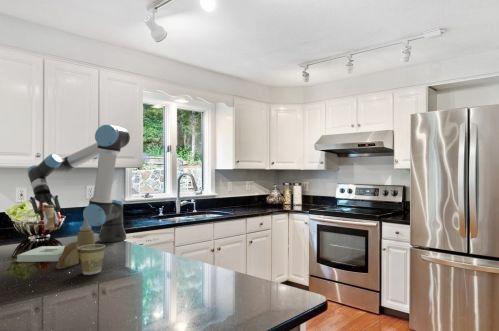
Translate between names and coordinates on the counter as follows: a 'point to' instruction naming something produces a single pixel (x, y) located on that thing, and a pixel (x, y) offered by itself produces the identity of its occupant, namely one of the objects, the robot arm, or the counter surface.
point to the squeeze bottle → (85, 235)
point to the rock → (69, 256)
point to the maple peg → (49, 216)
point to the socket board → (41, 254)
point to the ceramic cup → (91, 258)
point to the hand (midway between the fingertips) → (51, 222)
